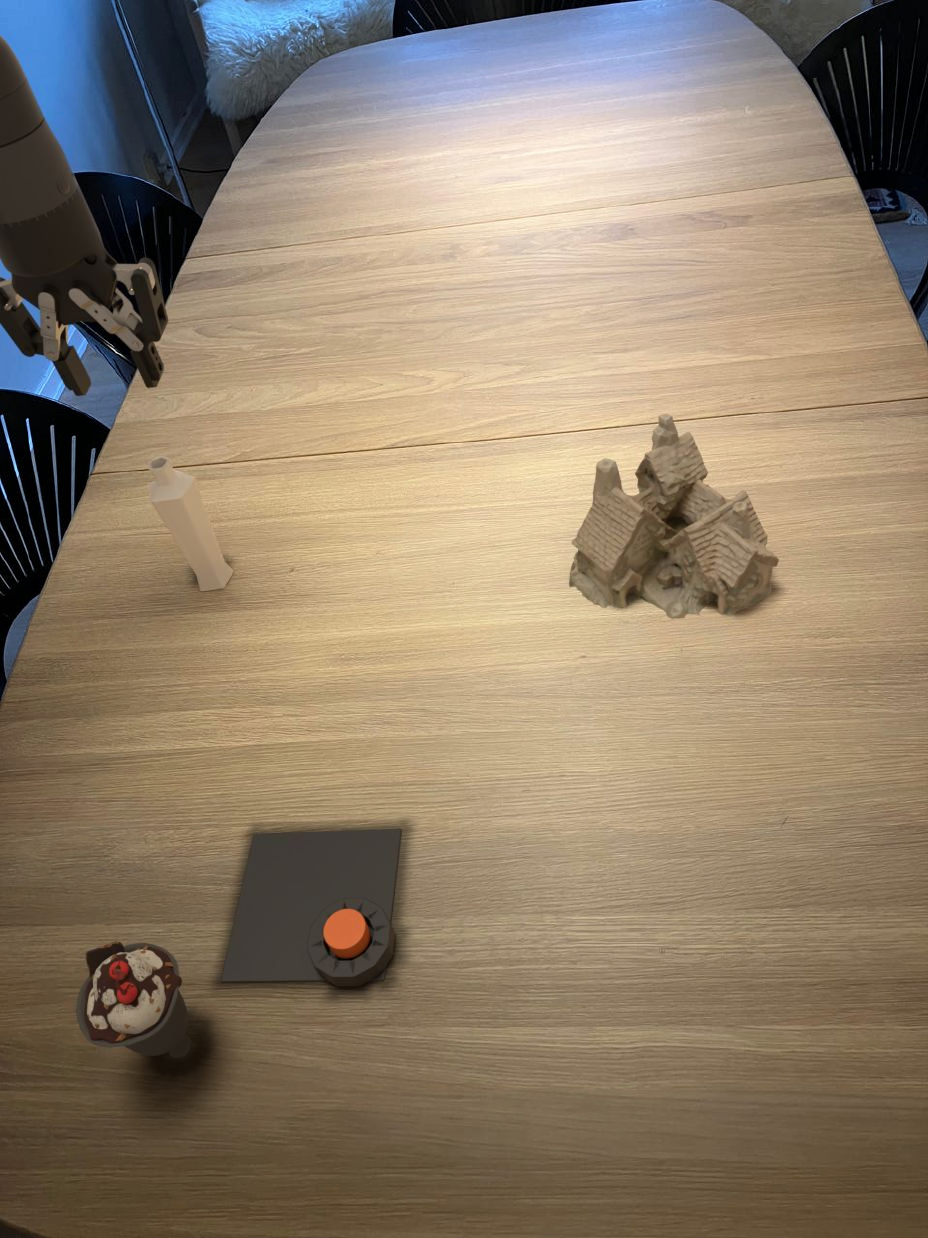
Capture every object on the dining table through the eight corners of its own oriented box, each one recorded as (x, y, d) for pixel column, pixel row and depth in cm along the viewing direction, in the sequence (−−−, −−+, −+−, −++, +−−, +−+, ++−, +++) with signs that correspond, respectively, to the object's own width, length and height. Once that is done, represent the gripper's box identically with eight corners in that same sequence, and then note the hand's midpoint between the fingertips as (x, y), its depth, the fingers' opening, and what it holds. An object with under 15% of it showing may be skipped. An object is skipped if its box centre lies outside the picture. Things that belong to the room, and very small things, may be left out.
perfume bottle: (182, 586, 105) (123, 472, 94) (212, 558, 107) (157, 444, 96) (214, 600, 102) (156, 485, 91) (243, 572, 104) (190, 456, 94)
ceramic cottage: (550, 562, 98) (542, 439, 86) (702, 504, 101) (714, 378, 89) (628, 680, 88) (632, 560, 77) (794, 613, 91) (822, 487, 79)
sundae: (230, 1095, 69) (143, 1006, 58) (133, 1109, 70) (29, 1023, 59) (237, 999, 74) (157, 900, 63) (146, 1012, 74) (51, 916, 63)
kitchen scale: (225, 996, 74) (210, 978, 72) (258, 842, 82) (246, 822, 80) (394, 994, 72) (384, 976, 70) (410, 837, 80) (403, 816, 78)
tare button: (325, 959, 72) (320, 949, 71) (332, 919, 74) (326, 909, 73) (367, 958, 71) (362, 949, 70) (373, 918, 73) (367, 908, 72)
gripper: (131, 158, 77) (209, 352, 89) (-44, 184, 79) (55, 369, 91) (102, 205, 72) (188, 404, 84) (-85, 232, 74) (26, 421, 86)
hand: (119, 385), depth 87 cm, fingers open, 6 cm apart
